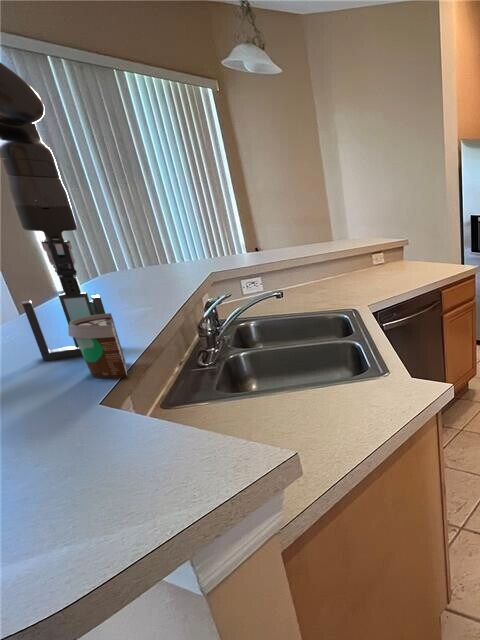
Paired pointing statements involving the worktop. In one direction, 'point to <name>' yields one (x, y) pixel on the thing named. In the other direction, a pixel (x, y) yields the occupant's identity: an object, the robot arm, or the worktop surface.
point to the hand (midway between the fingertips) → (72, 294)
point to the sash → (75, 308)
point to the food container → (99, 345)
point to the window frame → (35, 326)
